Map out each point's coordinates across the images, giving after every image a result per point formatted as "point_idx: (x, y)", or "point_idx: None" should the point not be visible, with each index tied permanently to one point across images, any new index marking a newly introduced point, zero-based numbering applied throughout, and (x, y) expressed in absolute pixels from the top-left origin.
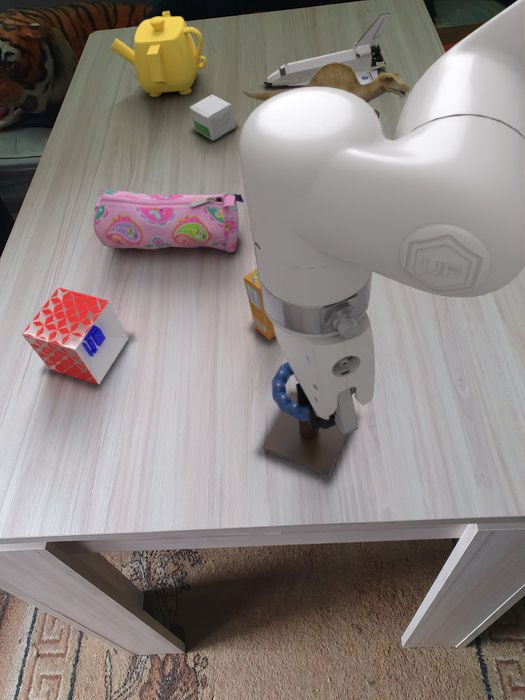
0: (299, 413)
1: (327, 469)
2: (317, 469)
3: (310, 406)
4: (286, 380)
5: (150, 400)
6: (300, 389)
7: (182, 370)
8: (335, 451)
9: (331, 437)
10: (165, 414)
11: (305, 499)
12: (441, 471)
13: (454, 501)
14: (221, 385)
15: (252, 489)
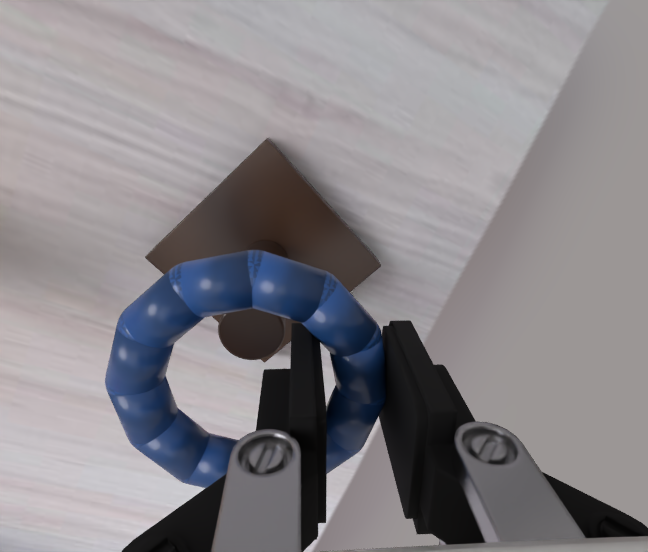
0: (349, 457)
1: (370, 263)
2: (360, 282)
3: (420, 527)
4: (198, 440)
5: (71, 502)
6: (319, 522)
7: (8, 439)
8: (340, 229)
9: (304, 222)
10: (114, 486)
11: (395, 317)
12: (494, 4)
13: (567, 22)
14: (73, 380)
15: (331, 393)
